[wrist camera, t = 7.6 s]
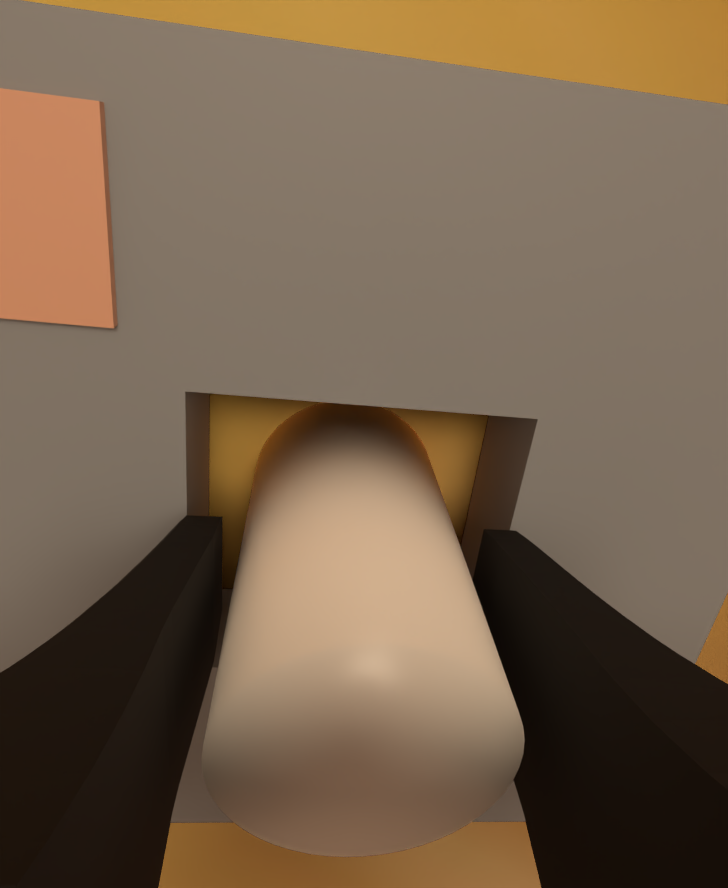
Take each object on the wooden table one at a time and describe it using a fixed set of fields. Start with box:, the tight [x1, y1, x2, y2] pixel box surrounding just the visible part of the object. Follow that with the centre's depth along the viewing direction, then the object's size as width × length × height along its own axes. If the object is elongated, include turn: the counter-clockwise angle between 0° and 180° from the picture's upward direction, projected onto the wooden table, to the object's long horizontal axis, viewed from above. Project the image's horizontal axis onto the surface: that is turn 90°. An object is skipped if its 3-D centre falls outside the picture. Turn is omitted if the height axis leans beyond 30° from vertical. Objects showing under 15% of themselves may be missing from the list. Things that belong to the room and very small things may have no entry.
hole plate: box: [0, 0, 728, 823], centre depth 12 cm, size 16×16×3 cm
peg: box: [201, 402, 525, 857], centre depth 11 cm, size 4×4×7 cm
